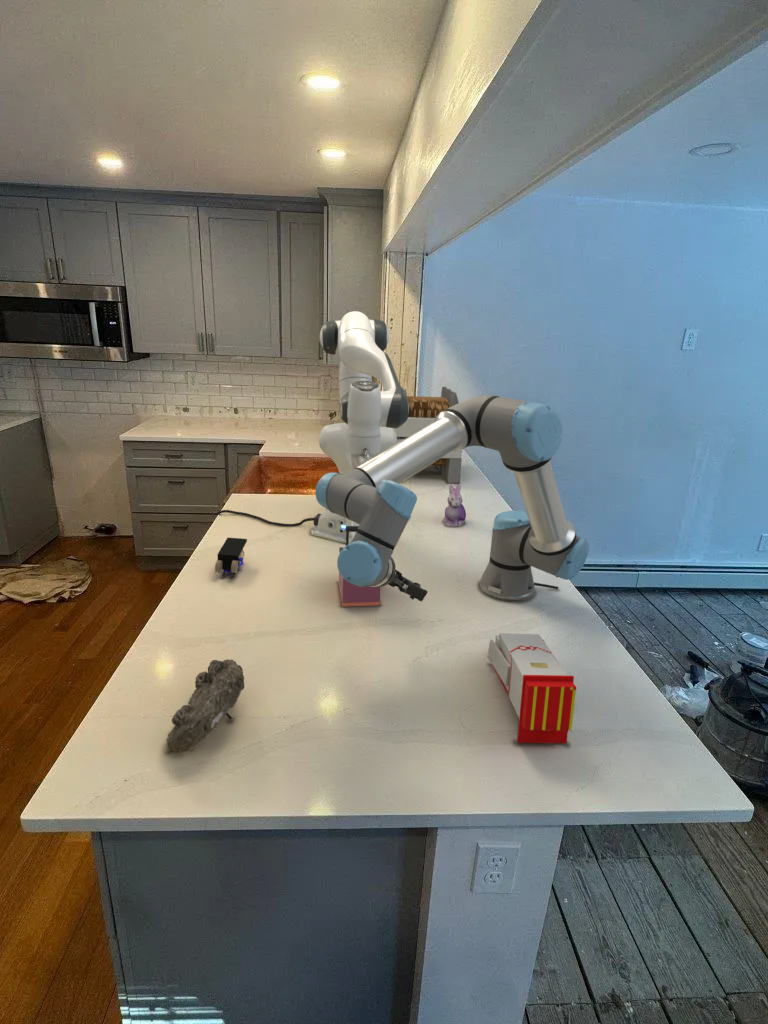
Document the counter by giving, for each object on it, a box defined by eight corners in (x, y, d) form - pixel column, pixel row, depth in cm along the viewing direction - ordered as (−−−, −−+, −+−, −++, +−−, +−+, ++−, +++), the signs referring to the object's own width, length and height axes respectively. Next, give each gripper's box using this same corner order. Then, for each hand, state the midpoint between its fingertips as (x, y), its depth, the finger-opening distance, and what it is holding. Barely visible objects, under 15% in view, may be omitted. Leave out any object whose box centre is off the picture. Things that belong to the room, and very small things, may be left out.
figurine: (451, 529, 206) (455, 489, 201) (436, 519, 214) (439, 481, 209) (472, 525, 210) (476, 487, 205) (457, 516, 219) (460, 479, 214)
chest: (338, 582, 163) (339, 552, 160) (373, 581, 164) (374, 552, 161) (342, 606, 150) (343, 575, 147) (379, 605, 151) (381, 574, 148)
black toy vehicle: (238, 584, 162) (249, 557, 175) (236, 562, 158) (247, 536, 172) (215, 584, 161) (227, 556, 175) (212, 561, 158) (225, 535, 171)
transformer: (382, 463, 289) (386, 382, 275) (445, 464, 293) (451, 384, 279) (390, 482, 257) (394, 392, 243) (460, 483, 261) (468, 394, 247)
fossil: (192, 660, 117) (244, 628, 112) (224, 691, 120) (276, 661, 115) (142, 746, 98) (202, 712, 93) (182, 779, 101) (242, 748, 96)
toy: (536, 617, 130) (585, 683, 100) (531, 671, 132) (578, 750, 103) (483, 616, 129) (518, 682, 100) (479, 670, 132) (511, 749, 103)
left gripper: (381, 454, 140) (378, 507, 144) (370, 436, 159) (368, 484, 163) (355, 454, 139) (354, 507, 143) (347, 436, 158) (346, 484, 162)
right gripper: (312, 549, 113) (339, 557, 134) (416, 620, 108) (428, 616, 128) (333, 518, 114) (356, 530, 134) (438, 586, 108) (445, 588, 129)
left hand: (361, 495), depth 153 cm, fingers open, 8 cm apart
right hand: (391, 572), depth 131 cm, fingers open, 13 cm apart
